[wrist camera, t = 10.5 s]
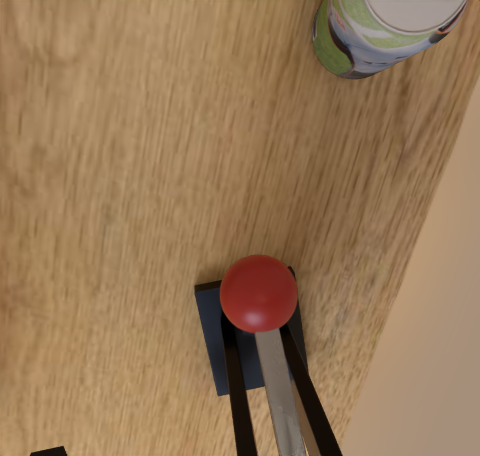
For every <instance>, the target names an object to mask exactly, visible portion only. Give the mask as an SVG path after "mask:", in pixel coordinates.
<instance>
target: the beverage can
mask: <svg viewBox="0 0 480 456" xmlns="http://www.w3.org/2000/svg"><path fill="white" fill-rule="evenodd" d="M468 1H469V0H323V2H322V4H321V6H320V7H319V9H318V11H317V13H316V16H315V18H314V22H313V27H312V40H313V46H314V49H315V52H316V55H317V57H318V59H319V60H320V61H321V63H322V64H323V65H324V66H325V67H326V68H327V69H328V70H329V71H330V72H332V73H333V74H335V75H337V76H340V77H342V78H347V79H361V78H366V77H369V76H372V75H374V74H376V73H378V72H380V71H382V70H384V69H386V68H388V67H390V66H392V65H394V64H396V63H398V62H400V61H403V60H405V59H407V58H409V57H411V56H413V55H415V54H417V53H419V52H421V51H423V50H425V49H427V48H429V47H431V46H432V45H434V44H436V43H437V42H439V41H440V40H441V39H443V38H444V37H445V36H446V35H447V34H448V33H449V32H450V31H451V30H452V29H453V28H454V27H455V25H456V24H457V22H458V21H459V19H460V18H461V16H462V15H463V13H464V11H465V8H466V6H467V4H468Z"/></svg>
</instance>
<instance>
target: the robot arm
mask: <svg viewBox="0 0 480 456" xmlns="http://www.w3.org/2000/svg"><path fill="white" fill-rule="evenodd" d="M30 456H67V454H66V451H65V448H64V446H60V447H56V448H51V449H46V450H42V451H37V452H33V453H31V454H30Z"/></svg>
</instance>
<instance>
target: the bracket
mask: <svg viewBox="0 0 480 456" xmlns="http://www.w3.org/2000/svg"><path fill="white" fill-rule="evenodd" d="M287 268H288V269H289V270H290V271H291V273H292V275H293V276H294V279H295V273H294V271H293V269H292V267H291V266H289V267H287ZM295 281H296V279H295ZM221 282H222V280H220V281H215V282H210V283H205V284H200V285H195V286H194V291H195V297H196V302H197V306H198V310H199V315H200V319H201V324H202V328H203V333H204V337H205V342H206V346H207V350H208V355H209V359H210V364H211V368H212V373H213V377H214V381H215V386H216V390H217V395H218V396H222V395H227V394H229V395H230V403H231V410H232V418H233V426H234V434H235V442H236V450H237V456H258V451H257V445H256V440H255V435H254V429H253V424H252V418H251V413H250V408H249V402H248V397H247V392H246V390H250V389H254V388H259V387H264V386H265V384H264V379H263V374H262V369H261V364H260V359H259V354H258V350H257V345H256V340H255V335H254V333H249V332H246V331H243V330H241V329H239V328H238V327H236V326H235V325H234V324H233V323H232V322H231V321H230V320H229V319H228V318H227V316H226V315H225V313H224V311H223V309H222V306H221V302H220V286H221ZM279 330H280V335H281V340H282V344H283V349H284V353H285V358H286V363H287V367H288V372H289V377H290V381H291V386H292V390H293V395H294V400H295V404H296V409H297V414H298V418H299V423H300V427H301V432H302V436H303V439H304V442H305V445H306V448H307V451H308V454H309V456H343V455H342V453H341V450H340V448H339V446H338V443H337V441H336V438H335V436H334V434H333V431H332V429H331V426H330V424H329V422H328V419H327V417H326V414H325V412H324V410H323V407H322V405H321V402H320V400H319V398H318V395H317V393H316V391H315V388H314V386H313V383H312V381H311V379H310V376H309V372H308V365H307V358H306V351H305V344H304V337H303V329H302V322H301V315H300V308H299V301H298V300H297V305H296V308H295V311H294V313H293V314H292V316H291V317H290V319H289V320H288V321H287V322H286V323H285V324H284V325H283V326H282V327H280V328H279Z"/></svg>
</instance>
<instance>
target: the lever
mask: <svg viewBox="0 0 480 456" xmlns="http://www.w3.org/2000/svg"><path fill="white" fill-rule="evenodd" d="M297 300H298V289H297V284H296V281H295V279H294V276H293V275H292V273H291V271H290V270H289V269H288V268H287V267H286V266H285V265H284V264H283V263H282V262H280V261H279V260H277V259H275V258H273V257H270V256H266V255H251V256H247V257H244V258H242V259H240V260H238V261H237V262H235V263H234V264H233V265H232V266H231V267H230V268H229V269H228V270H227V272H226V273H225V275H224V277H223V280H222V282H221V286H220V302H221V306H222V309H223V311H224V313H225V315H226V316H227V318H228V319H229V320H230V321H231V322H232V323H233V324H234V325H235V326H236V327H238V328H239V329H241V330H243V331H246V332H249V333H254V335H255V340H256V345H257V350H258V354H259V359H260V364H261V369H262V374H263V379H264V384H265V389H266V394H267V399H268V404H269V408H270V413H271V418H272V423H273V428H274V433H275V438H276V443H277V448H278V453H279V456H307V455H306V450H305V446H304V441H303V437H302V432H301V427H300V423H299V418H298V414H297V409H296V404H295V400H294V395H293V390H292V386H291V381H290V377H289V372H288V367H287V363H286V358H285V353H284V349H283V344H282V340H281V335H280V330H279V328H280V327H282V326H283V325H284V324H285V323H286V322H287V321H288V320H289V319H290V317H291V316H292V314H293V313H294V311H295V308H296V305H297Z"/></svg>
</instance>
